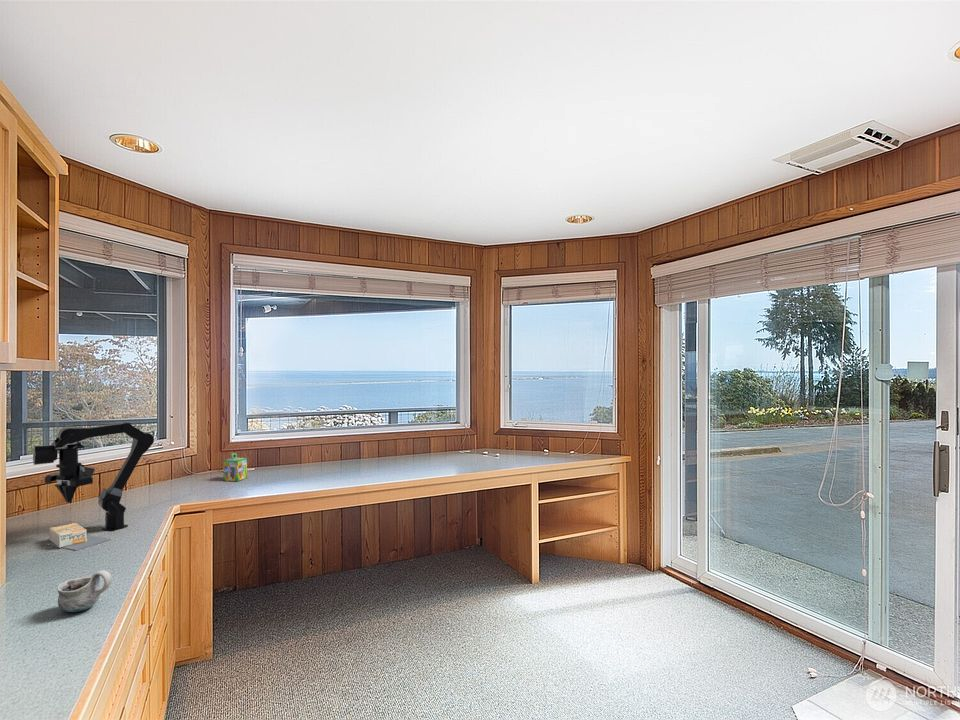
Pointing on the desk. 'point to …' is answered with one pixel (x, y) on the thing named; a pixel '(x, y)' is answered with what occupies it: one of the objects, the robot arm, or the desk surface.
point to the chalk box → (234, 468)
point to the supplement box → (68, 535)
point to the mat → (85, 543)
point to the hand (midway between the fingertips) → (69, 502)
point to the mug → (82, 592)
